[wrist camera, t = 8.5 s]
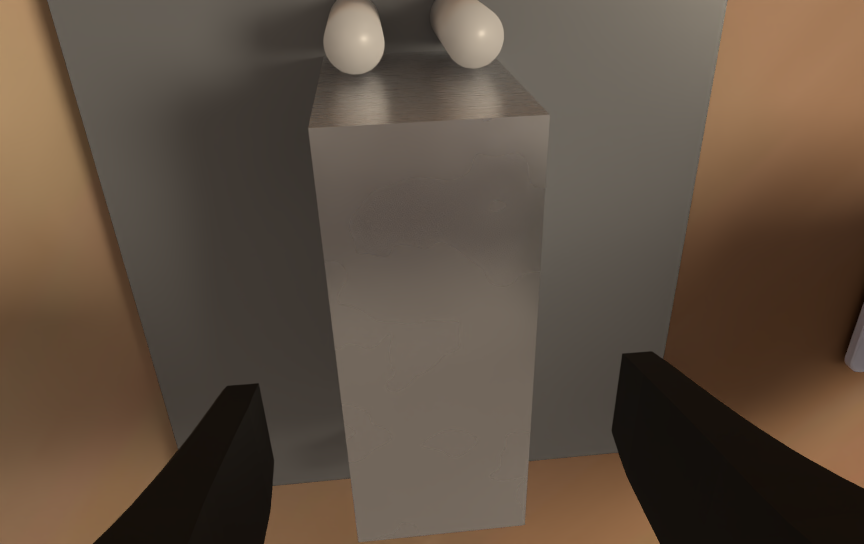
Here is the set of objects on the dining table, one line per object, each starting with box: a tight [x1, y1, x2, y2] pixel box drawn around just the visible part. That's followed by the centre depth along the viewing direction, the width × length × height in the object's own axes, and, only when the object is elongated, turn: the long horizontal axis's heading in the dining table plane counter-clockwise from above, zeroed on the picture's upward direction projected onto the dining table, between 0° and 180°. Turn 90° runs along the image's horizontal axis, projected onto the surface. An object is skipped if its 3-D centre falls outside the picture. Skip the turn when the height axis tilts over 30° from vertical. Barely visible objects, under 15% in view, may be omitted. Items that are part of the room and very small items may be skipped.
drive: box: [308, 50, 550, 542], centre depth 16 cm, size 4×10×6 cm, turn 2°
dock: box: [47, 0, 727, 486], centre depth 18 cm, size 16×17×4 cm
